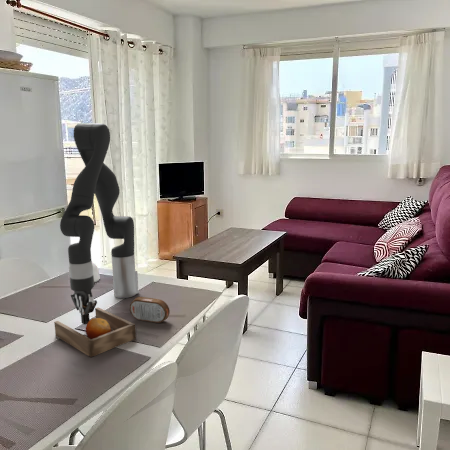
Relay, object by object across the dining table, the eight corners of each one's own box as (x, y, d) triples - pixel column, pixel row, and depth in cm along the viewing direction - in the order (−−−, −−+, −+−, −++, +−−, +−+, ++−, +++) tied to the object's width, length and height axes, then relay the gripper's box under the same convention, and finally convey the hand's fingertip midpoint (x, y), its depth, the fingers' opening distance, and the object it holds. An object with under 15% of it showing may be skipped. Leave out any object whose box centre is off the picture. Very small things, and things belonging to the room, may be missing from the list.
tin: (170, 321, 154) (169, 299, 152) (166, 325, 151) (165, 302, 150) (133, 316, 159) (132, 294, 157) (128, 320, 156) (127, 297, 154)
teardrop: (90, 274, 209) (88, 250, 207) (104, 278, 203) (103, 254, 200) (70, 281, 200) (67, 256, 198) (85, 285, 194) (83, 259, 191)
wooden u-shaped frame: (99, 320, 156) (98, 307, 155) (136, 338, 141) (135, 324, 140) (55, 335, 144) (54, 321, 143) (90, 357, 129) (89, 341, 128)
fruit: (83, 330, 144) (94, 310, 143) (104, 340, 146) (115, 321, 145) (77, 341, 136) (89, 320, 135) (100, 352, 138) (112, 331, 137)
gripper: (102, 275, 142) (106, 325, 145) (81, 268, 150) (85, 314, 154) (82, 281, 136) (86, 332, 140) (60, 273, 145) (65, 321, 148)
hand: (85, 323), depth 147 cm, fingers closed
